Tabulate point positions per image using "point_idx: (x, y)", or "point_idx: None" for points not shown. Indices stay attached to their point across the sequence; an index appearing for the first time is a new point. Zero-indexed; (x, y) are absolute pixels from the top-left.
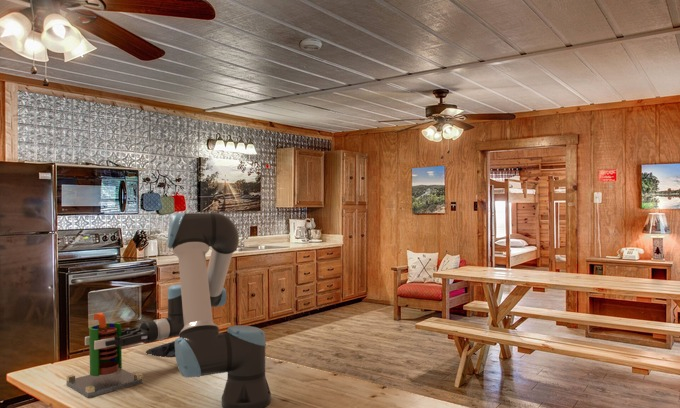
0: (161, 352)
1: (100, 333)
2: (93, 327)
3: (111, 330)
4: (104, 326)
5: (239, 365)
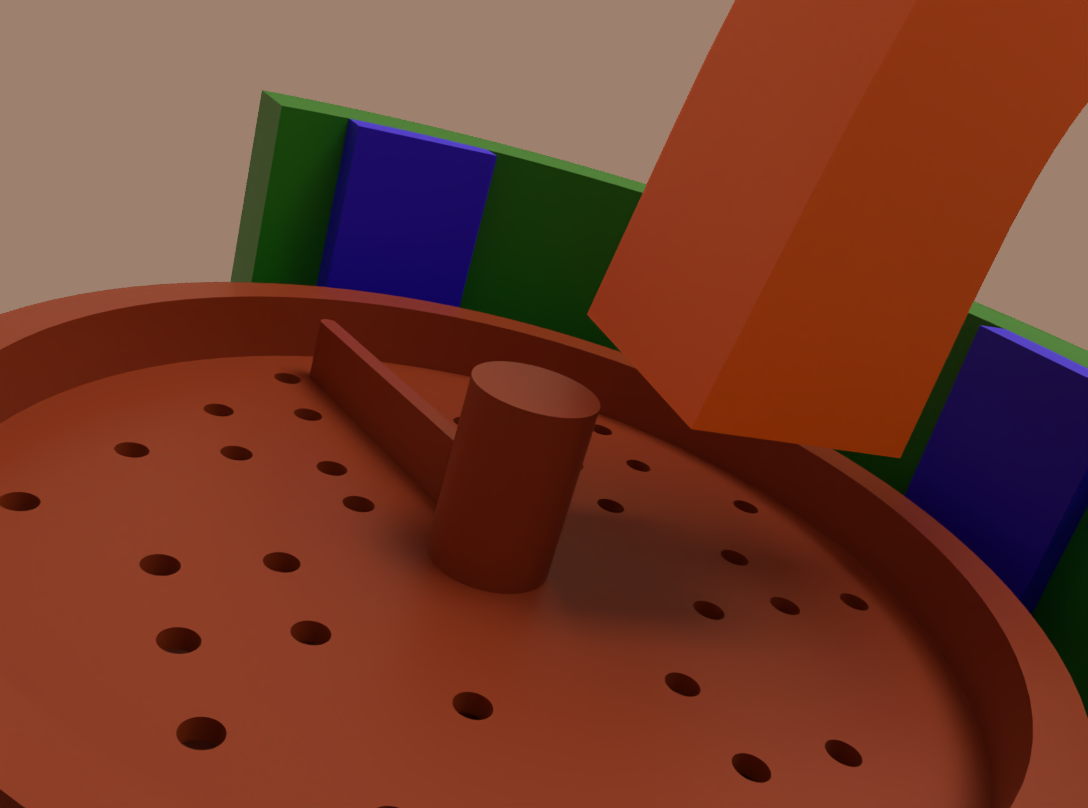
0: None
1: (275, 324)
2: (975, 370)
3: (417, 752)
4: (659, 332)
5: None
